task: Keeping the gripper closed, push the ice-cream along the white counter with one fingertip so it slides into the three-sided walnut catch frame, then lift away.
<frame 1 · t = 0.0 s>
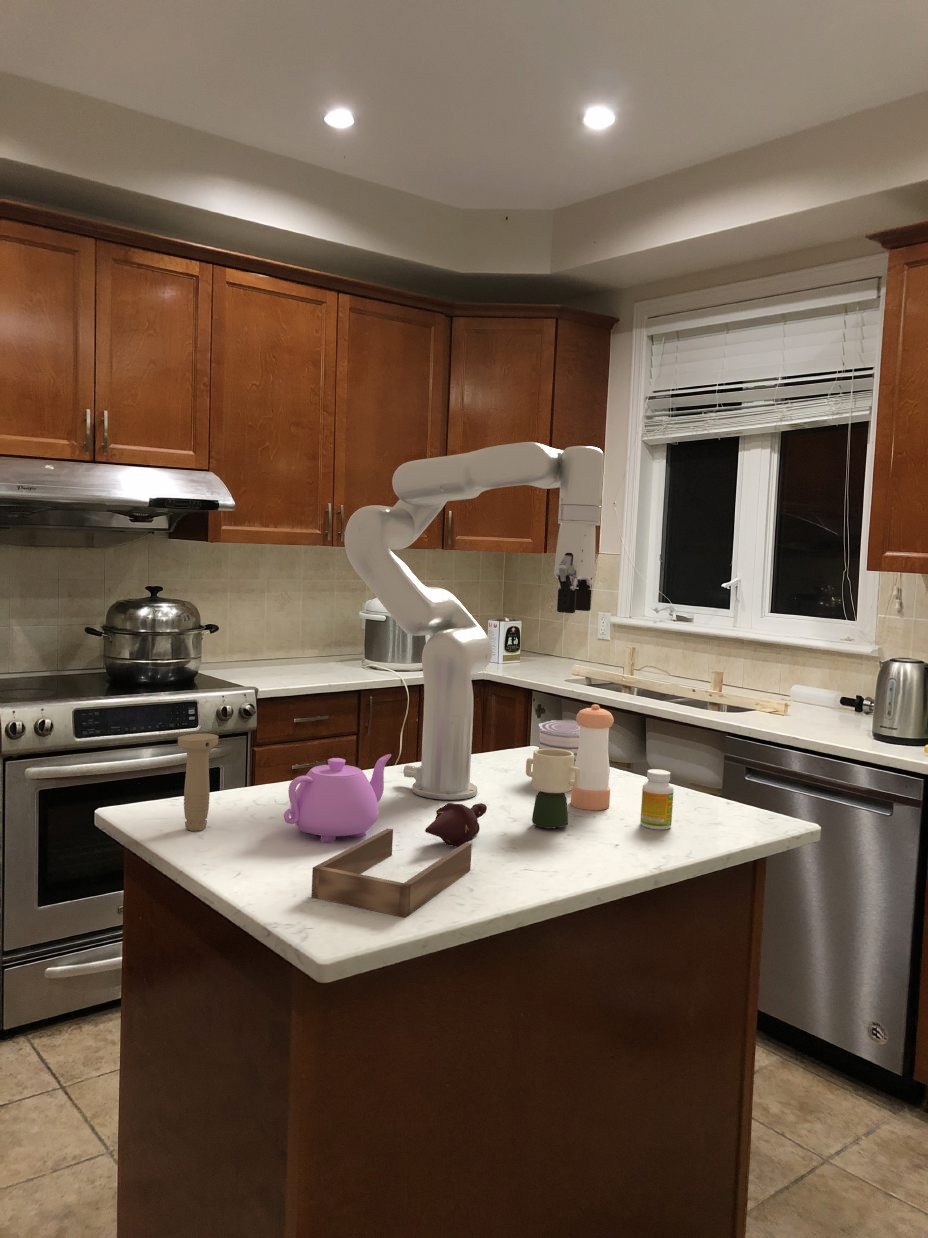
hand: (574, 611, 173), 37 cm above the countertop, tool pointing down, fingers open, 9 cm apart
can: (563, 783, 199), on the countertop
catch frame: (395, 883, 134), on the countertop
character mug: (549, 828, 165), on the countertop
handle: (195, 830, 154), on the countertop
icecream: (454, 846, 153), on the countertop
teapot: (338, 833, 156), on the countertop
supplement bottle: (655, 827, 169), on the countertop
salt shaker: (589, 806, 181), on the countertop
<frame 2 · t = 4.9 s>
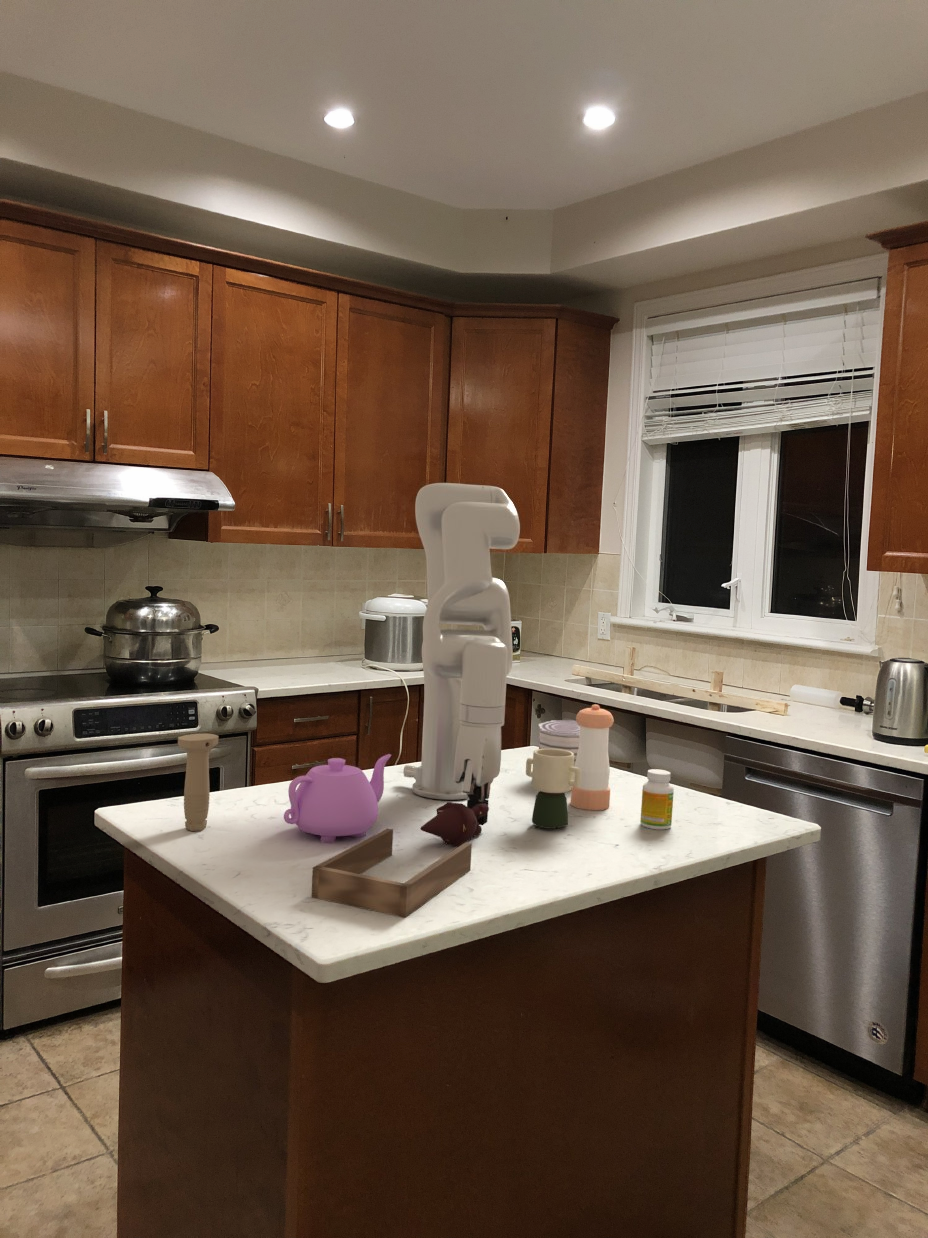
hand: (476, 822, 161), 1 cm above the countertop, tool pointing down, fingers closed
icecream: (453, 845, 153), on the countertop, touching gripper
everything else where it was.
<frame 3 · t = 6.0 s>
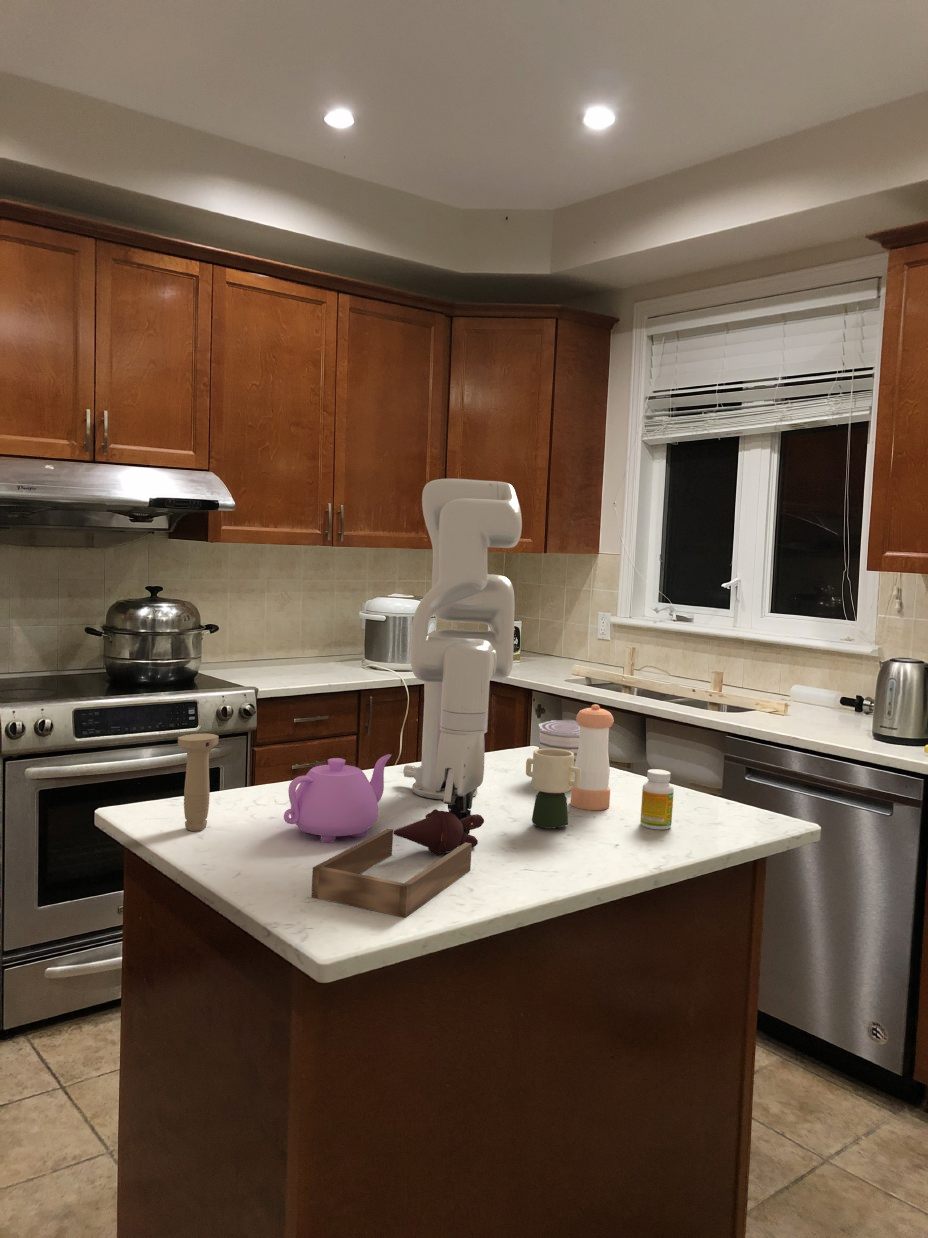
hand: (458, 834, 154), 1 cm above the countertop, tool pointing down, fingers closed
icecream: (437, 854, 148), on the countertop, touching gripper
everything else where it was.
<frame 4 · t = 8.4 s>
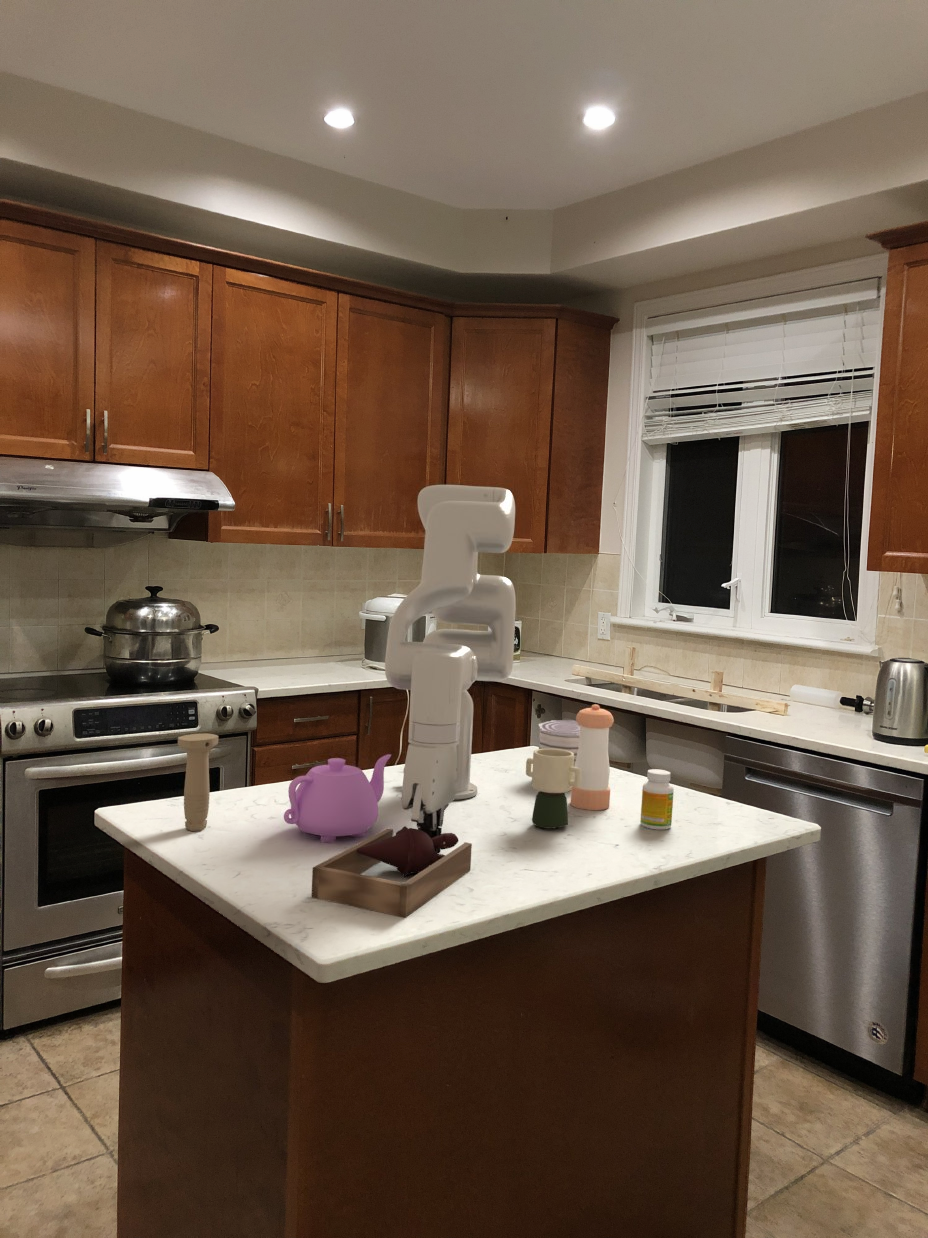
hand: (428, 853, 144), 1 cm above the countertop, tool pointing down, fingers closed
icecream: (406, 874, 138), on the countertop, touching gripper
everything else where it was.
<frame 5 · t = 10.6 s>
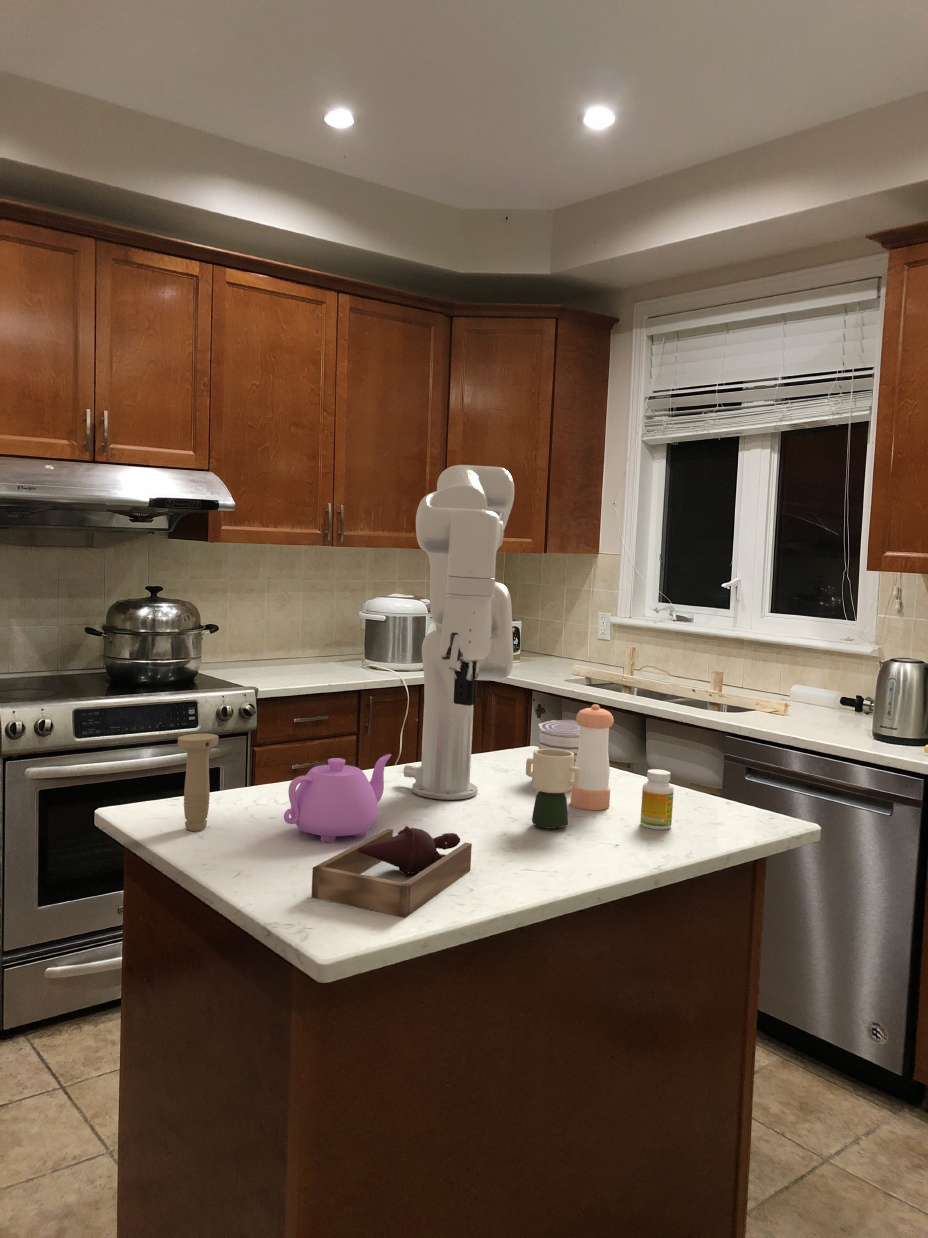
hand: (464, 703, 152), 23 cm above the countertop, tool pointing down, fingers closed
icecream: (408, 874, 138), on the countertop
everything else where it was.
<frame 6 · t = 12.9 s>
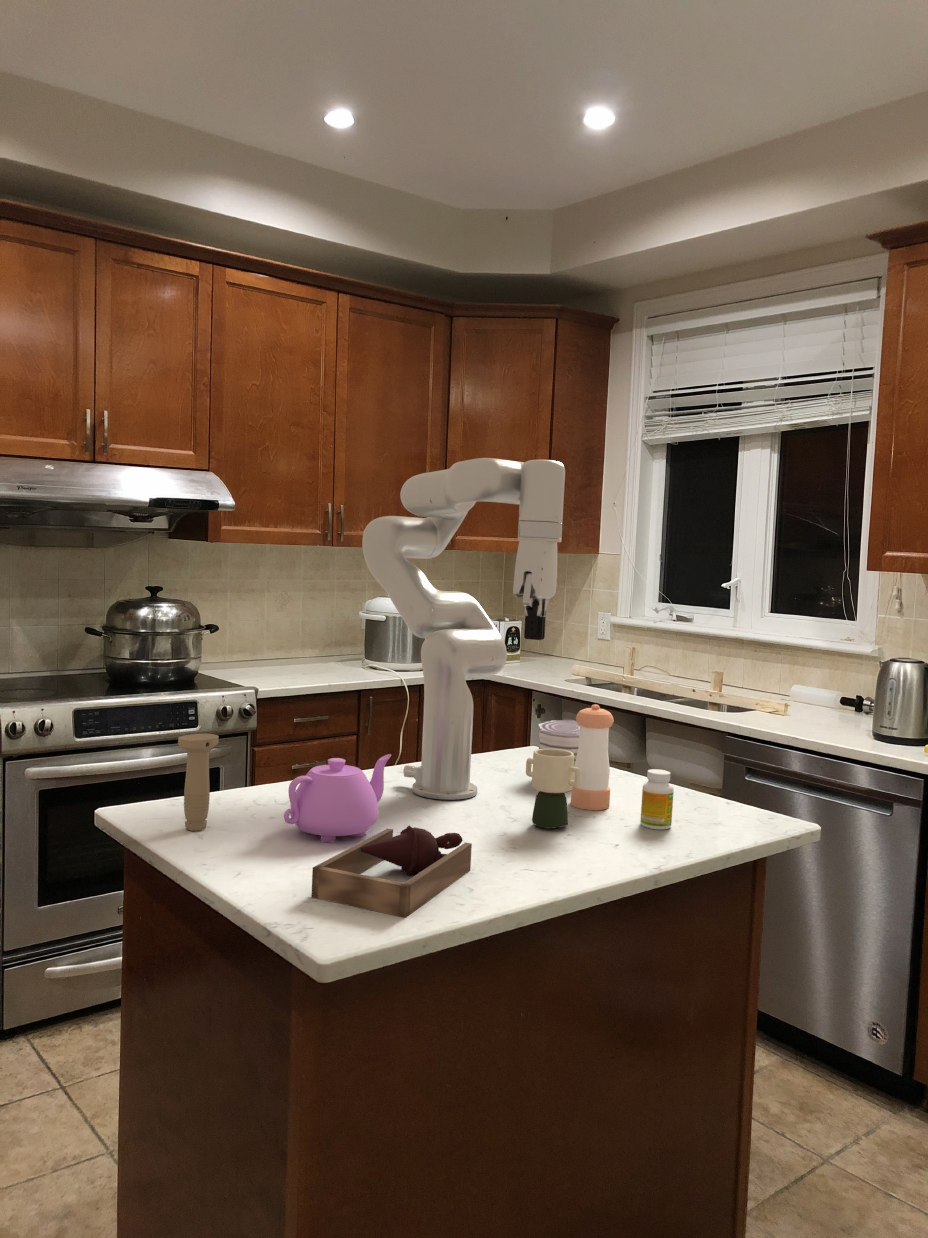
hand: (534, 638, 166), 32 cm above the countertop, tool pointing down, fingers closed
nothing on the countertop moved.
at the end: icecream inside the target area (4.7 cm from its centre), on the countertop; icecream moved 15.3 cm from its start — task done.
